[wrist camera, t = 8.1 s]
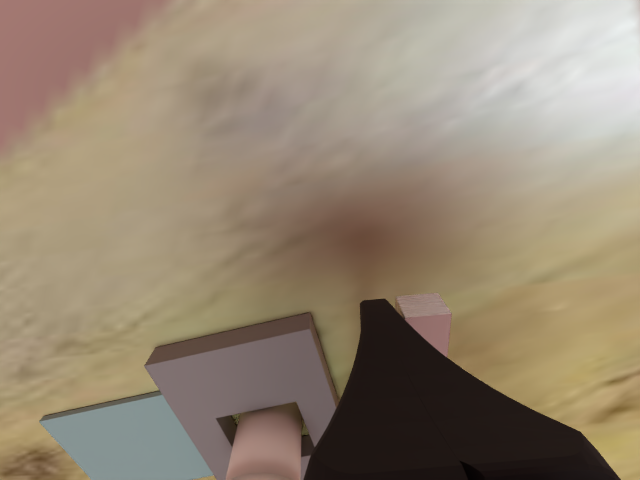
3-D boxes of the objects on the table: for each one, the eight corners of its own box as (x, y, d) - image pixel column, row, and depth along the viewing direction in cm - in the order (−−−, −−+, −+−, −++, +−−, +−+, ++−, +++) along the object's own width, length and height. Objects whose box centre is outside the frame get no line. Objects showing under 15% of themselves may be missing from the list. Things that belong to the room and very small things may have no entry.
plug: (315, 432, 24) (317, 532, 18) (248, 445, 24) (230, 547, 19) (296, 383, 22) (291, 479, 16) (223, 398, 22) (194, 497, 16)
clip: (428, 510, 17) (436, 539, 16) (383, 514, 17) (388, 543, 16) (450, 291, 11) (465, 312, 10) (383, 297, 11) (391, 318, 10)
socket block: (361, 470, 26) (363, 491, 24) (242, 492, 26) (238, 514, 25) (309, 312, 19) (310, 328, 18) (155, 347, 20) (144, 365, 19)
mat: (215, 469, 25) (213, 475, 25) (109, 490, 26) (106, 496, 25) (165, 389, 21) (162, 394, 21) (43, 416, 22) (38, 421, 22)
